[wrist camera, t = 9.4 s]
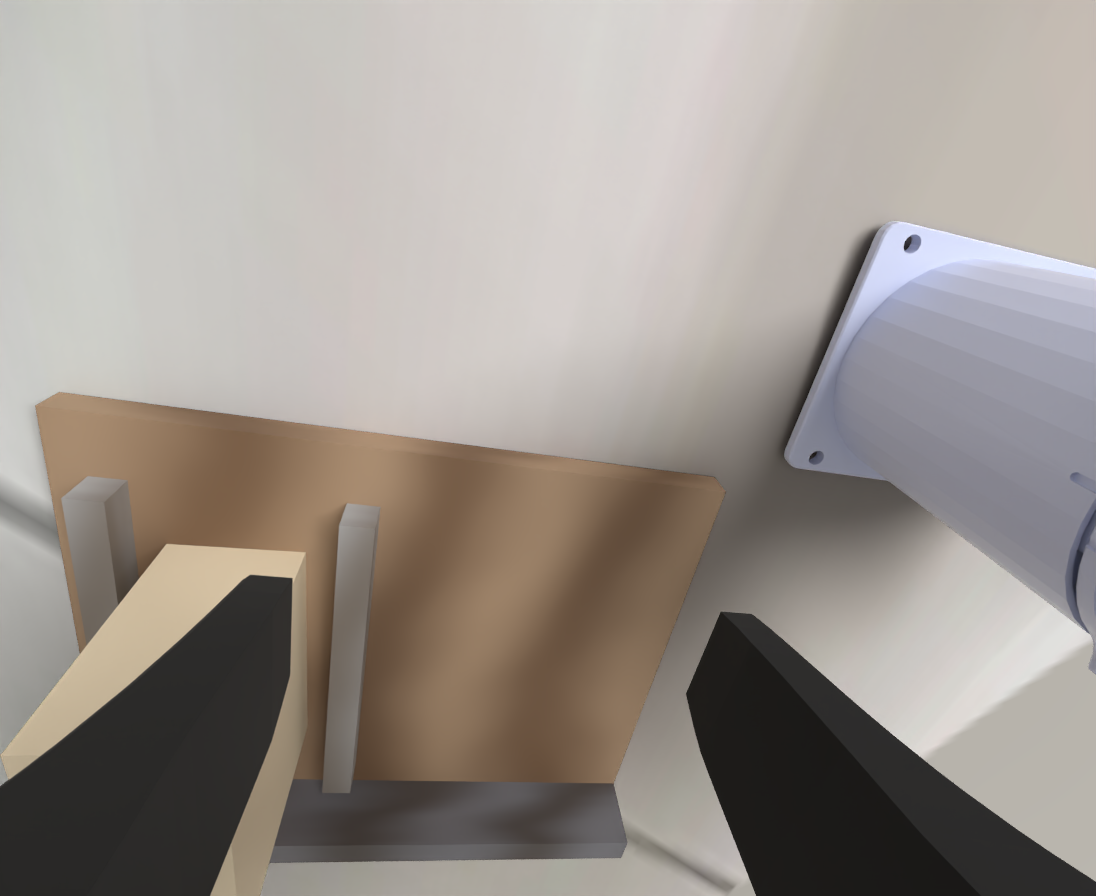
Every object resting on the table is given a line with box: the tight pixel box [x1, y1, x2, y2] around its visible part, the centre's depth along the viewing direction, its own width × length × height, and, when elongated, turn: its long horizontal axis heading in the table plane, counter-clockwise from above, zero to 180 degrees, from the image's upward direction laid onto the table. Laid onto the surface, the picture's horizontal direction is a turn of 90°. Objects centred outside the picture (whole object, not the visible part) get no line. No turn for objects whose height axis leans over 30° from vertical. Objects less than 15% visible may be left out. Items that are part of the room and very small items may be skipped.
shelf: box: [35, 392, 726, 863], centre depth 20 cm, size 20×16×4 cm
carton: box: [0, 544, 308, 896], centre depth 16 cm, size 8×4×7 cm, turn 170°
